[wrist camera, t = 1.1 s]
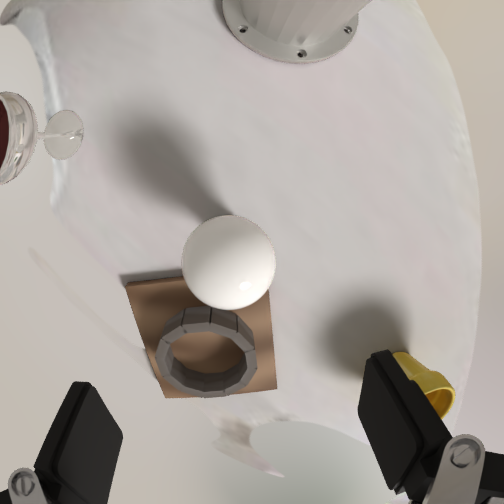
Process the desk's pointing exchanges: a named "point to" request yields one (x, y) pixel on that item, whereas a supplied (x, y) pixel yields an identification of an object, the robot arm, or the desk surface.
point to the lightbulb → (228, 262)
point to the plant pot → (428, 383)
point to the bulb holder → (203, 341)
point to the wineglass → (33, 135)
